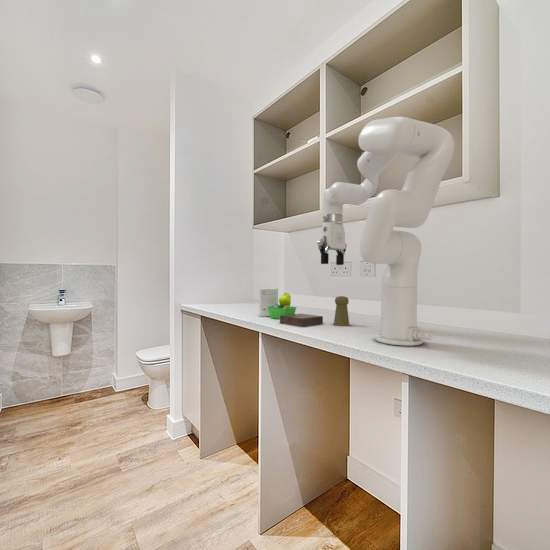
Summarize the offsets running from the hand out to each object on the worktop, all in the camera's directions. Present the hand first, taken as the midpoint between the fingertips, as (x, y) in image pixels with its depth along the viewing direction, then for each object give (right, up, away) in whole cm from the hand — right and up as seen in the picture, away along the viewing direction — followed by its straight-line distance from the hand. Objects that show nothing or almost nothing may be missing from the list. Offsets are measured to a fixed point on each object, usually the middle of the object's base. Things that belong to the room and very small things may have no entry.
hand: (332, 264), depth 122 cm
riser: (-12, -23, +2) cm, 26 cm away
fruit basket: (-19, -24, +17) cm, 35 cm away
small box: (-26, -24, +26) cm, 43 cm away
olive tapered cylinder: (+3, -24, -1) cm, 24 cm away
